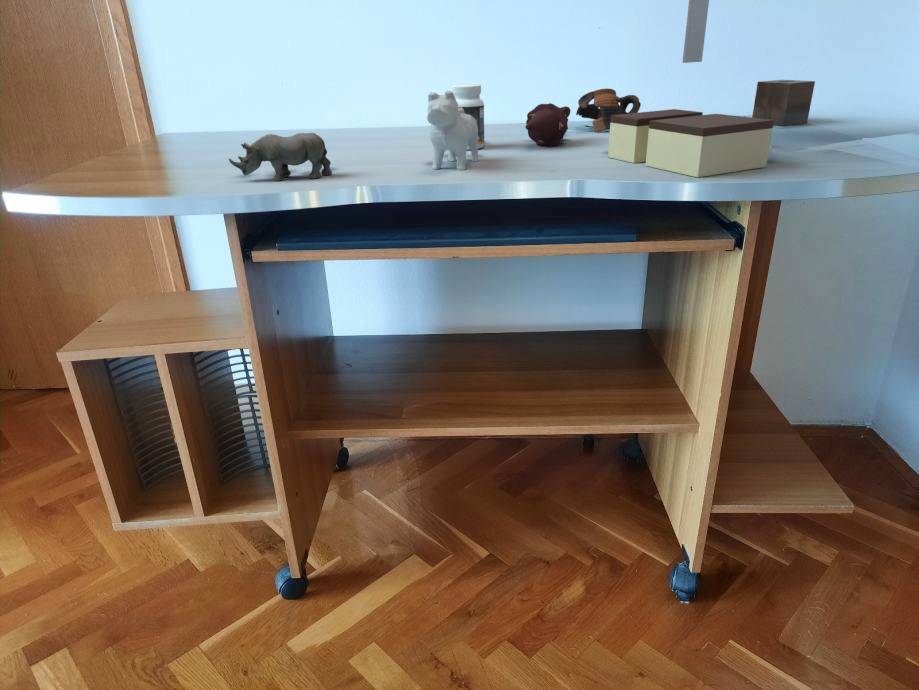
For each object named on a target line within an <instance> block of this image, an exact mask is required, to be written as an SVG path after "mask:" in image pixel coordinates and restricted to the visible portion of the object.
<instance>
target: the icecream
mask: <svg viewBox="0 0 919 690" xmlns="http://www.w3.org/2000/svg"><path fill="white" fill-rule="evenodd" d="M570 115H571V108H570V107H569V106H567V105H565V106H561V107H559V106H557V105H555V104H554V103H551V102H550V103H539V104H538V105H536V106H535V107H534V108H533V109H531V110H530V111H529V112H528V113H527V114H526V117H527V118H526V122H525V129H526V130H527V134H528V138H529V139H530V140H531V141H532V142H534V143H535V144H537V145H538V146H539V147H554V146H555V145H557V143H558V142H560V141H562V140H563V139H564V137H565V134H566V133H567V131H568V130H569V126H568V122H569V116H570Z"/></svg>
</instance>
